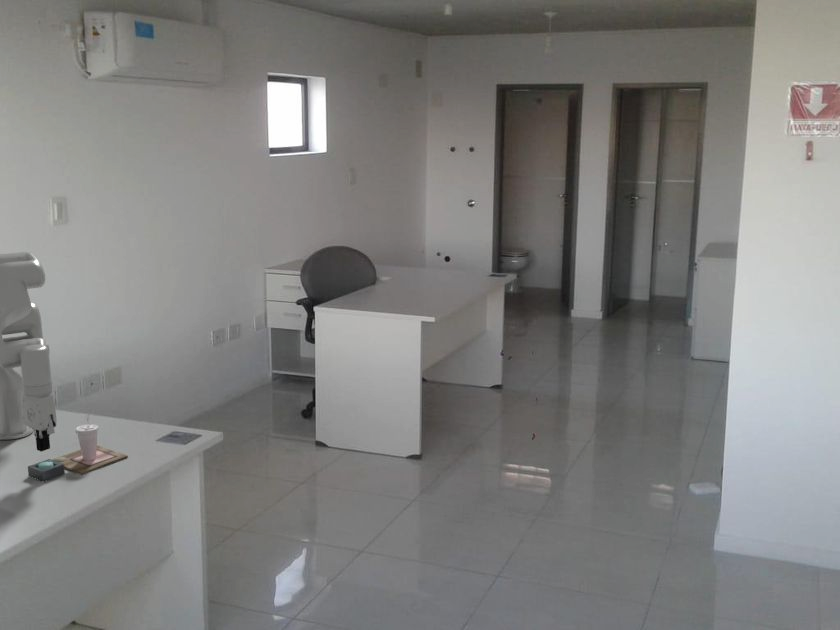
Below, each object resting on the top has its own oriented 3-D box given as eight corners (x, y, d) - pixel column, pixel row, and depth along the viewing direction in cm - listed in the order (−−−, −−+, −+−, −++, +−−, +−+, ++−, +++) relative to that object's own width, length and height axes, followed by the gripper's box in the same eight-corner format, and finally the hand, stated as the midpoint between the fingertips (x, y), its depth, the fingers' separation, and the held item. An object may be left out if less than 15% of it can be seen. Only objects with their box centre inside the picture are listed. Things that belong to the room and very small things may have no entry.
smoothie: (93, 463, 275) (89, 418, 272) (73, 461, 277) (69, 416, 273) (105, 455, 281) (101, 411, 278) (85, 453, 283) (81, 409, 280)
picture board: (49, 462, 278) (48, 460, 278) (95, 446, 290) (94, 444, 290) (81, 474, 269) (81, 472, 268) (127, 457, 281) (127, 455, 281)
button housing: (28, 476, 268) (27, 466, 267) (50, 468, 273) (49, 458, 272) (42, 481, 264) (41, 471, 263) (64, 473, 269) (63, 464, 269)
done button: (36, 474, 268) (35, 465, 267) (48, 470, 271) (47, 460, 270) (44, 477, 266) (43, 468, 265) (57, 473, 269) (56, 463, 268)
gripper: (10, 387, 264) (16, 447, 268) (41, 397, 256) (47, 459, 260) (34, 380, 270) (40, 439, 274) (65, 390, 261) (70, 451, 266)
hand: (43, 449), depth 267 cm, fingers closed
